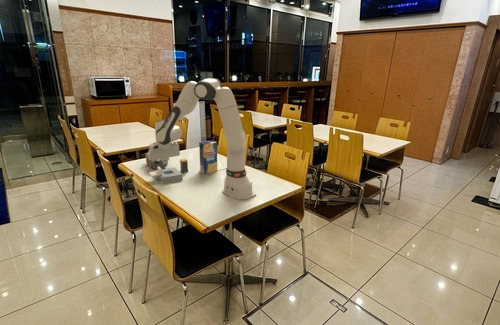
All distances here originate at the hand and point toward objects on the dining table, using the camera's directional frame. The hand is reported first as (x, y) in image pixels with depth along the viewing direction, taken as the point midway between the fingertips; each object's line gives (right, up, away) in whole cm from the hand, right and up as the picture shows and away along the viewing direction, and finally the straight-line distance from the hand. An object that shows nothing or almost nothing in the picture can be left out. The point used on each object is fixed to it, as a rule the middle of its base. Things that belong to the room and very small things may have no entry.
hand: (165, 163), depth 188 cm
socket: (+1, -10, +4) cm, 11 cm away
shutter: (-6, -7, -2) cm, 9 cm away
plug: (+9, -6, +17) cm, 20 cm away
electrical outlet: (-15, -2, +26) cm, 30 cm away
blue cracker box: (+26, -6, +20) cm, 33 cm away
